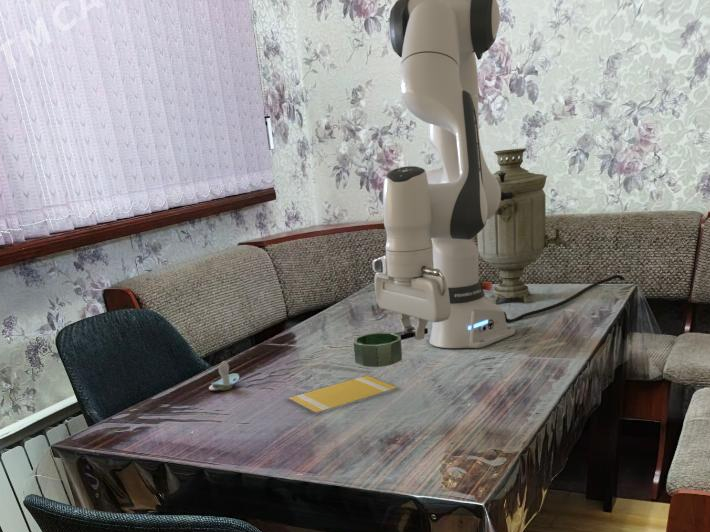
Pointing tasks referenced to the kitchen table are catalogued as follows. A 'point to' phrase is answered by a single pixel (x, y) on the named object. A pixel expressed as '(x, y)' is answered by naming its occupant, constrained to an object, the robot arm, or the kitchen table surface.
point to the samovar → (516, 225)
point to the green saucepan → (380, 348)
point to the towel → (342, 393)
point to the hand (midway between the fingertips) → (413, 337)
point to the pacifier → (224, 378)
